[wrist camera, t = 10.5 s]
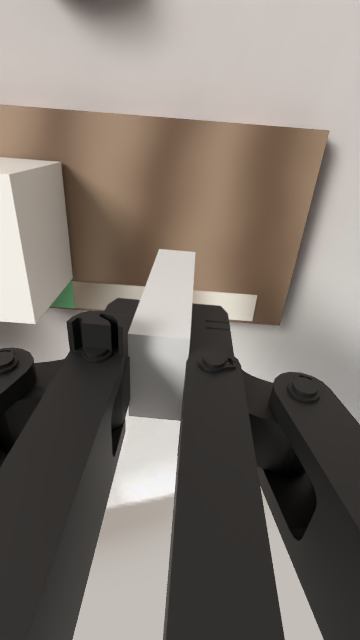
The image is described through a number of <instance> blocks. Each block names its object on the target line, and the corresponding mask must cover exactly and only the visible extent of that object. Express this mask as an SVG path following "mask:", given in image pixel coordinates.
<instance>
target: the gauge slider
mask: <svg viewBox="0 0 360 640" xmlns="http://www.w3.org/2000/svg"><path fill="white" fill-rule="evenodd" d="M72 278H73V274H72V264H71V255H70V245H69V235H68V225H67V215H66V206H65V196H64V186H63V176H62V166H61V162H57V161H44V160H31V159H19V158H6V157H0V321H2V322H15V323H28V324H36V323H37V322H38V320H39V319H40V318H41V317H42V315H43V314H44V313H45V312H46V310H47V309H48V308H49V307H50V306H51V304H52V303H53V302H54V301H55V299H56V298H57V297H58V296H59V294H60V293H61V292H62V291H63V290H64V288H65V287H66V286H67V285H68V283H69V282H70V281H71V280H72Z"/></svg>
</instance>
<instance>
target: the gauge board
mask: <svg viewBox="0 0 360 640" xmlns="http://www.w3.org/2000/svg"><path fill="white" fill-rule="evenodd" d="M328 134H329V131H328V130H315V129H303V128H290V127H277V126H265V125H252V124H240V123H227V122H214V121H202V120H189V119H176V118H164V117H151V116H138V115H126V114H113V113H100V112H88V111H75V110H63V109H50V108H37V107H25V106H12V105H0V157H6V158H19V159H31V160H44V161H57V162H61V166H62V176H63V186H64V196H65V206H66V215H67V225H68V235H69V245H70V255H71V264H72V274H73V278H72V280H71V281H70V282H69V283H68V285H67V286H66V287H65V288H64V290H63V291H62V292H61V293H60V294H59V296H58V297H57V298H56V299H55V301H54V302H53V303H52V304H51V306H50V308H63V309H76V310H89V311H105V309H106V307H107V305H108V304H109V303H111V302H112V301H114V300H115V299H117V298H126V299H137V300H140V299H141V297H142V294H143V291H144V289H145V286H146V283H147V280H148V278H149V275H150V272H151V270H152V267H153V264H154V262H155V259H156V256H157V254H158V251H159V249H165V250H177V251H189V252H195V268H194V284H193V301H192V303H195V304H206V305H217V306H221V307H222V308H223V309H224V310H225V311H226V312H227V313H228V317H229V321H231V322H244V323H257V324H270V325H280V321H281V318H282V314H283V310H284V306H285V302H286V298H287V294H288V290H289V286H290V282H291V279H292V275H293V271H294V267H295V263H296V259H297V255H298V251H299V247H300V243H301V240H302V236H303V232H304V228H305V224H306V220H307V216H308V212H309V208H310V205H311V201H312V197H313V193H314V189H315V185H316V181H317V177H318V173H319V169H320V166H321V162H322V158H323V154H324V150H325V146H326V142H327V138H328Z"/></svg>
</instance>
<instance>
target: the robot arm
mask: <svg viewBox="0 0 360 640" xmlns="http://www.w3.org/2000/svg"><path fill="white" fill-rule="evenodd" d="M194 268H195V252H189V251H177V250H165V249H159V251H158V254H157V256H156V259H155V262H154V264H153V267H152V270H151V272H150V275H149V278H148V280H147V283H146V286H145V289H144V291H143V294H142V297H141V299H140V300H137V299H126V298H117V299H115V300H114V301H112V302H111V303H109V304H108V305H107V307H106V309H105V311H89V312H84V313H80V314H78V315H75V316H73V317H72V318H70V319H69V320H68V321H67V330H68V338H69V346H70V352H69V354H68V355H67V357H66V358H65V359H62V360H57V361H51V362H42V363H34V359H33V357H32V355H31V354H30V352H28V351H25V350H23V349H18V348H3V349H0V640H72V639H73V635H74V631H75V627H76V623H77V619H78V615H79V611H80V607H81V603H82V599H83V596H84V592H85V587H86V584H87V580H88V576H89V572H90V568H91V564H92V560H93V556H94V552H95V548H96V544H97V540H98V537H99V533H100V529H101V525H102V521H103V517H104V512H105V509H106V505H107V501H108V497H109V493H110V490H111V486H112V482H113V478H114V474H115V470H116V466H117V462H118V458H119V454H120V450H121V446H122V442H123V438H124V435H125V416H126V412H127V409H128V405H129V416H137V417H147V418H158V419H168V420H179V421H181V424H180V435H179V445H178V455H177V456H178V459H177V472H176V484H175V497H174V510H173V522H172V534H171V547H170V559H169V571H168V572H169V573H168V584H167V597H166V609H165V621H164V634H163V640H285V639H284V632H283V627H282V621H281V614H280V608H279V601H278V595H277V589H276V582H275V576H274V570H273V563H272V557H271V551H270V545H269V538H268V532H267V526H266V519H265V513H264V507H263V501H262V495H261V489H260V486H261V488H262V490H263V493H264V495H265V498H266V500H267V503H268V505H269V508H270V510H271V512H272V515H273V517H274V520H275V522H276V525H277V527H278V529H279V532H280V534H281V537H282V539H283V541H284V544H285V546H286V549H287V551H288V554H289V556H290V558H291V561H292V563H293V566H294V568H295V571H296V573H297V575H298V578H299V580H300V583H301V585H302V588H303V590H304V592H305V595H306V597H307V600H308V602H309V605H310V607H311V610H312V612H313V614H314V617H315V619H316V622H317V624H318V626H319V629H320V631H321V634H322V636H323V638H324V640H360V424H359V423H358V422H357V421H356V420H355V418H354V417H353V416H352V415H351V413H350V412H349V411H348V410H347V409H346V407H345V406H344V405H343V404H342V403H341V401H340V400H339V399H338V398H337V397H336V395H335V394H334V393H333V392H332V391H331V389H330V388H329V387H327V386H326V385H325V384H324V383H323V382H322V381H320V380H318V379H316V378H314V377H313V376H310V375H307V374H303V373H297V372H288V373H283V374H280V375H279V376H278V377H276V378H275V381H274V383H271V382H268V381H265V380H262V379H259V378H256V377H254V376H251V375H249V374H248V373H246V372H244V371H243V370H242V369H241V365H240V363H239V361H238V359H237V358H235V357H234V353H233V346H232V339H231V332H230V324H229V317H228V313H227V312H226V311H225V310H224V309H223V308H222V307H221V306H217V305H206V304H195V303H192V301H193V284H194Z"/></svg>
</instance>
